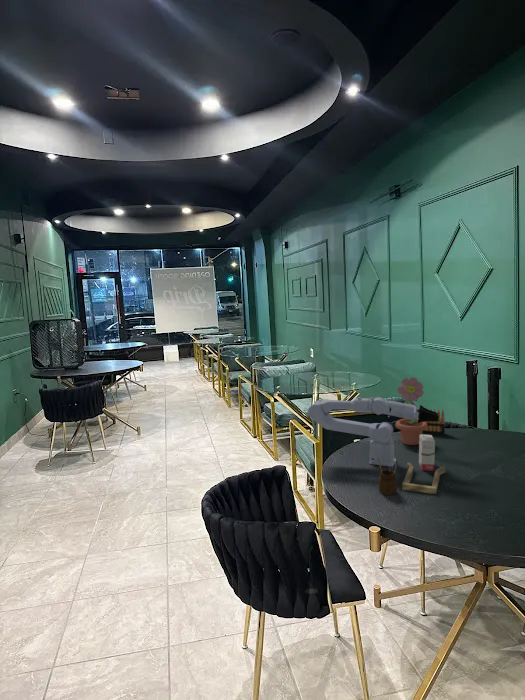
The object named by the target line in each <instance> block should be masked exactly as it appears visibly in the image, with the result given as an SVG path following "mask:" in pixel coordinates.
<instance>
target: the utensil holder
mask: <svg viewBox="0 0 525 700" xmlns="http://www.w3.org/2000/svg"><path fill="white" fill-rule="evenodd" d="M378 462H379V465H378V466H379V468H380V472H379V477H378V478H379V479H378V489H379V492H380V494H383V495H385V494H386V495H385V496H390V495H395V494H396V493H397V490H398V489H397V487H398V486H397V484H398V483H397V482H398V481H397V478H396V476H397V475H396V471H395V470H394V471H393V470H391V469H382V465H381V464H380V460H379V457H378ZM394 466H395V467H394V468H397V467H398V466H397V464H394ZM389 468H391V466H389Z"/></svg>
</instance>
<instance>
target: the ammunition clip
mask: <svg viewBox="0 0 525 700" xmlns="http://www.w3.org/2000/svg"><path fill="white" fill-rule="evenodd" d="M429 410H431V411H434V412H436V413H438V416H439V419H438V421H425V422H426V423H427V429H425V430H423V431H422V434H428V435H443V434H445V431H446V430H445V412H444V409H441V412H440V409H438V410H437V411H436V409H433V410H432V408H430V409H429Z"/></svg>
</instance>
